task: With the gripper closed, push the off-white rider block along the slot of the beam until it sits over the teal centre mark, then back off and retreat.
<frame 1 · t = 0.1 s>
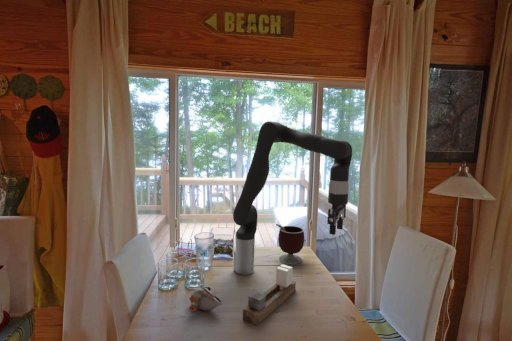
hand: (336, 231, 117), 29 cm above the table, fingers open, 8 cm apart
mate gourd: (288, 260, 161), on the table
rider: (284, 277, 124), point 7 cm above the table, slide at 10.0 cm
beam: (271, 303, 117), on the table
decorative duck model: (208, 306, 114), on the table
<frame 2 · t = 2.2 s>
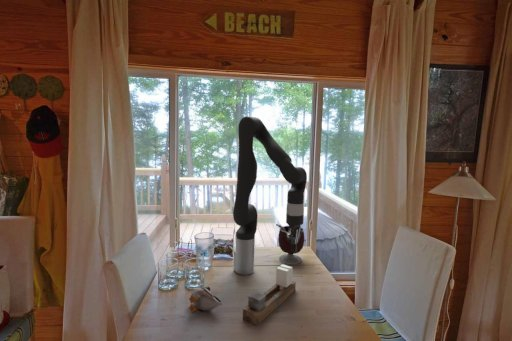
hand: (293, 251, 130), 16 cm above the table, fingers closed
nothing on the table moved.
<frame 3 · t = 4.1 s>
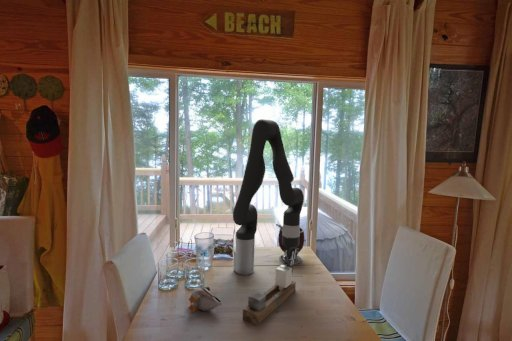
hand: (289, 272, 128), 8 cm above the table, fingers closed
rider: (283, 278, 124), point 7 cm above the table, slide at 9.4 cm, touching gripper
everything else where it was.
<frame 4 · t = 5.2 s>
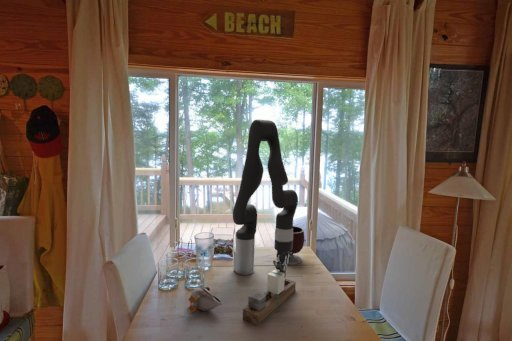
hand: (282, 277, 123), 8 cm above the table, fingers closed
rider: (275, 284, 119), point 7 cm above the table, slide at 3.1 cm, touching gripper
everything else where it was.
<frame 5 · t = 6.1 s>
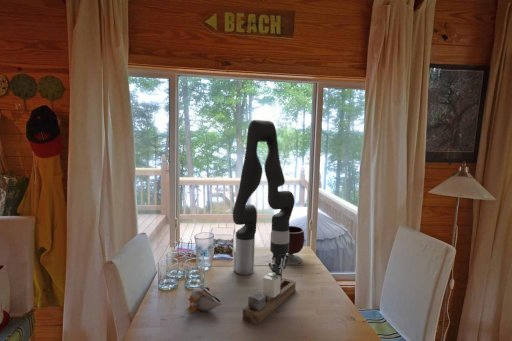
hand: (278, 280, 120), 8 cm above the table, fingers closed
rider: (271, 287, 116), point 7 cm above the table, slide at -0.2 cm, touching gripper
everything else where it was.
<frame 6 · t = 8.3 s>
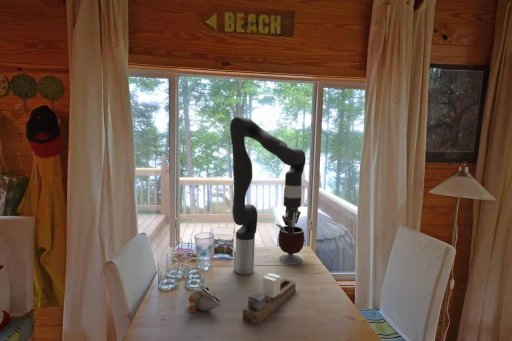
hand: (290, 234, 128), 24 cm above the table, fingers closed
rider: (271, 287, 116), point 7 cm above the table, slide at -0.4 cm
everything else where it was.
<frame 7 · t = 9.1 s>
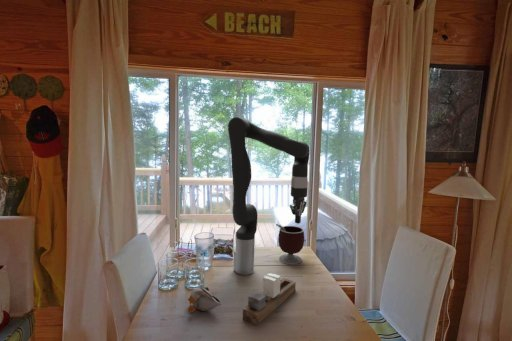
hand: (297, 223, 136), 27 cm above the table, fingers closed
nothing on the table moved.
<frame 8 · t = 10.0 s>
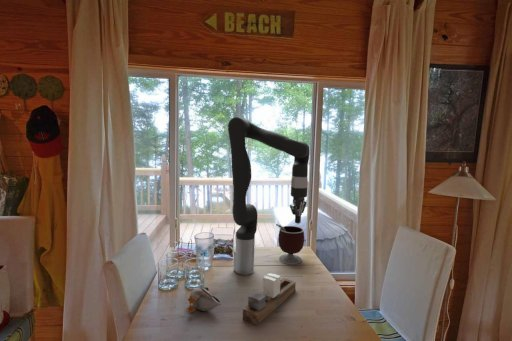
hand: (297, 223, 136), 27 cm above the table, fingers closed
nothing on the table moved.
at the end: rider slide at -0.4 cm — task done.
